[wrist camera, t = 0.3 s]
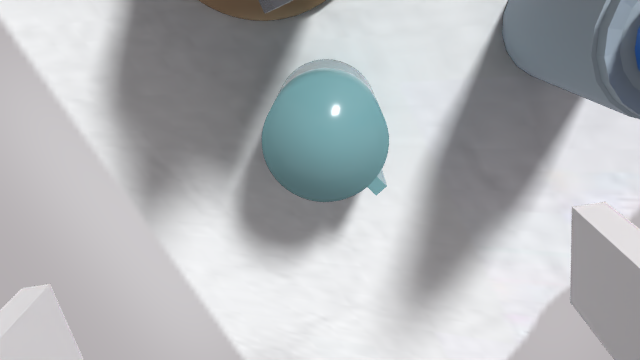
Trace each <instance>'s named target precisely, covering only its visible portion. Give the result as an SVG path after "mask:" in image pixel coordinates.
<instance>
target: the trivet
mask: <svg viewBox="0 0 640 360" xmlns="http://www.w3.org/2000/svg"><path fill="white" fill-rule="evenodd" d="M199 1H201V2H202V3H204V4H205V5H207V6H209V7H211V8H213V9H215V10H217V11H219V12H221V13H224V14H227V15H230V16H234V17H237V18H242V19H248V20H262V21H268V20H278V19H284V18H288V17H292V16H296V15H298V14H301V13H304V12H306V11H309V10H311V9H312V8H314V7H316V6H318V5H319V4H321V3H323V2H324V1H326V0H293V1H291V2H289V3H287V4H285V5H283V6H281V7H279V8H276V9H274V10H272V11H270V12H268V13H264V11H263V9H262V7H261V5H260V3H259V1H258V0H199Z"/></svg>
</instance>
